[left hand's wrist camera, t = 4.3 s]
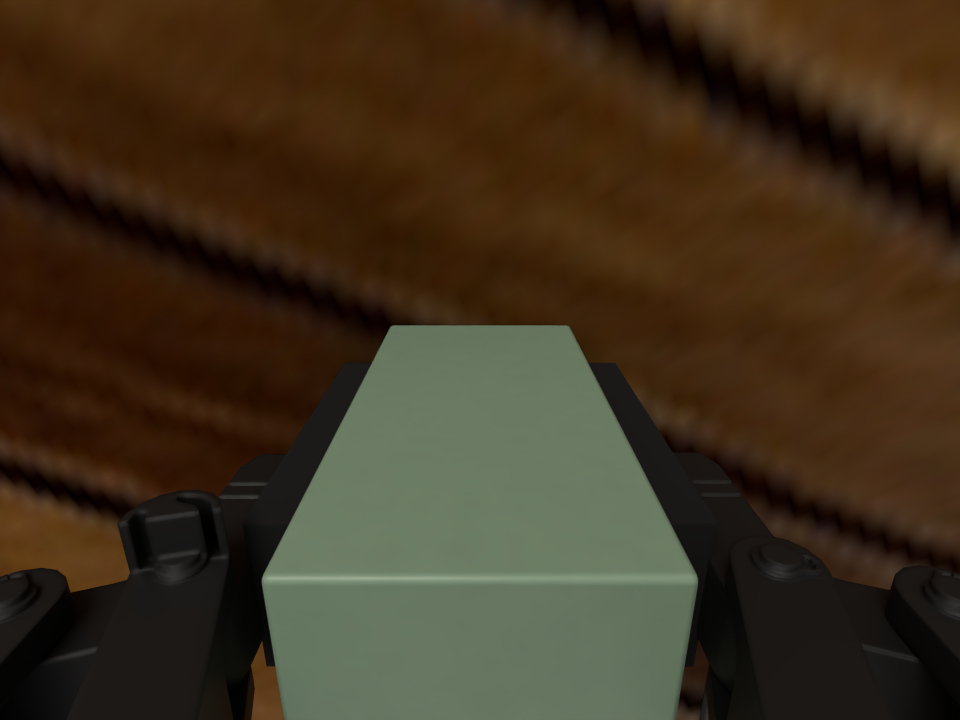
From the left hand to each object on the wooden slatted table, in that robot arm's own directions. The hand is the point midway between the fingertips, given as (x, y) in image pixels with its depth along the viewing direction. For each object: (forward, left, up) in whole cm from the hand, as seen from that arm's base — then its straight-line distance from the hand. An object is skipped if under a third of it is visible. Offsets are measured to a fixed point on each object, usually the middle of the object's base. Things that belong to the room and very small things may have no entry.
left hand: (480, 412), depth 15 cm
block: (0, 0, 0) cm, 0 cm away
